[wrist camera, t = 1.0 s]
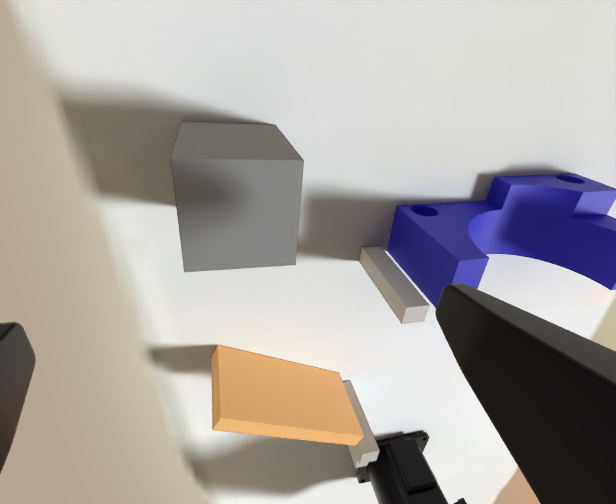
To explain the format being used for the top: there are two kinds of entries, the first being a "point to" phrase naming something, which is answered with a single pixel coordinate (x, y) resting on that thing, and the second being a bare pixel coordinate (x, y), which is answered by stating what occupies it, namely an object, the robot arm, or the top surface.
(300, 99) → the top surface
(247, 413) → the door
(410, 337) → the top surface
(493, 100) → the top surface
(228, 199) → the gray rectangular block
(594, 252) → the cable clip
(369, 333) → the top surface
